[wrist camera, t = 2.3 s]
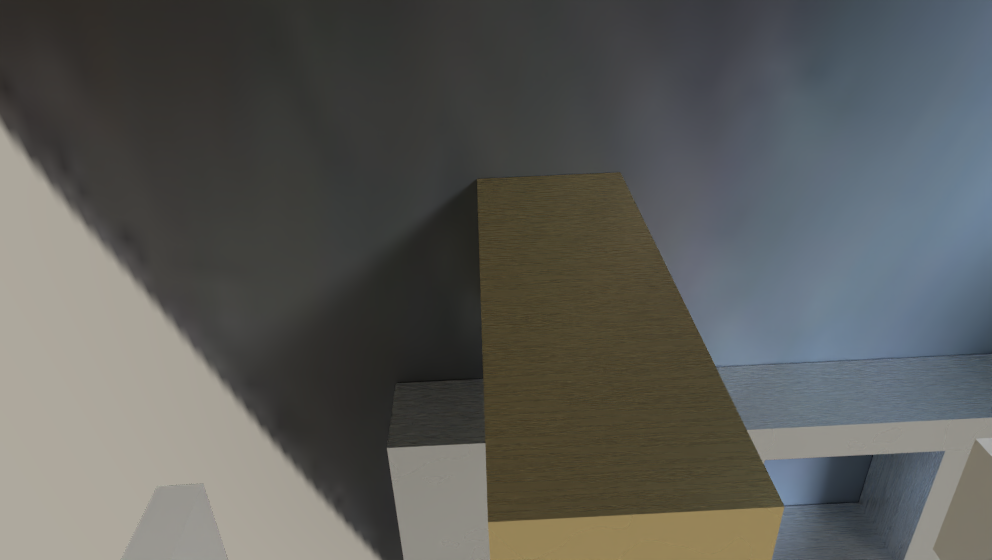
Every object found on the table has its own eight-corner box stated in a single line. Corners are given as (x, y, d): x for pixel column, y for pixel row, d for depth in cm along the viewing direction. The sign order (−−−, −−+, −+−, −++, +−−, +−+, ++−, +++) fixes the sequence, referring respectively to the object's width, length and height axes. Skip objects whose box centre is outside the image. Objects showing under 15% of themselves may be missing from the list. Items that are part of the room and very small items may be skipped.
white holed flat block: (395, 383, 23) (387, 448, 21) (1240, 341, 24) (1334, 400, 21) (417, 547, 27) (412, 619, 25) (1139, 510, 28) (1207, 576, 25)
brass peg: (476, 178, 20) (487, 522, 10) (620, 172, 20) (784, 507, 10) (483, 300, 22) (497, 692, 12) (613, 294, 22) (743, 678, 12)
